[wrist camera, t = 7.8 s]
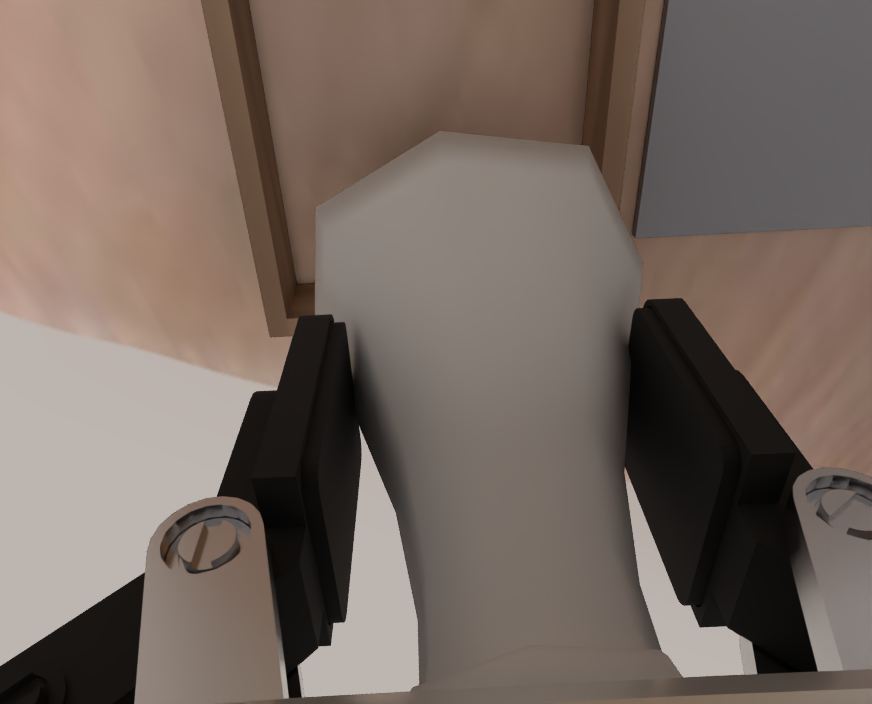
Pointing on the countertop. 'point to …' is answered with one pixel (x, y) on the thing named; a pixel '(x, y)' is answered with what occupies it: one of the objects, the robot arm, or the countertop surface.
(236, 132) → the walnut frame
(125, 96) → the countertop surface
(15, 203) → the countertop surface
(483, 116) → the countertop surface
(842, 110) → the charcoal mat
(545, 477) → the flask
